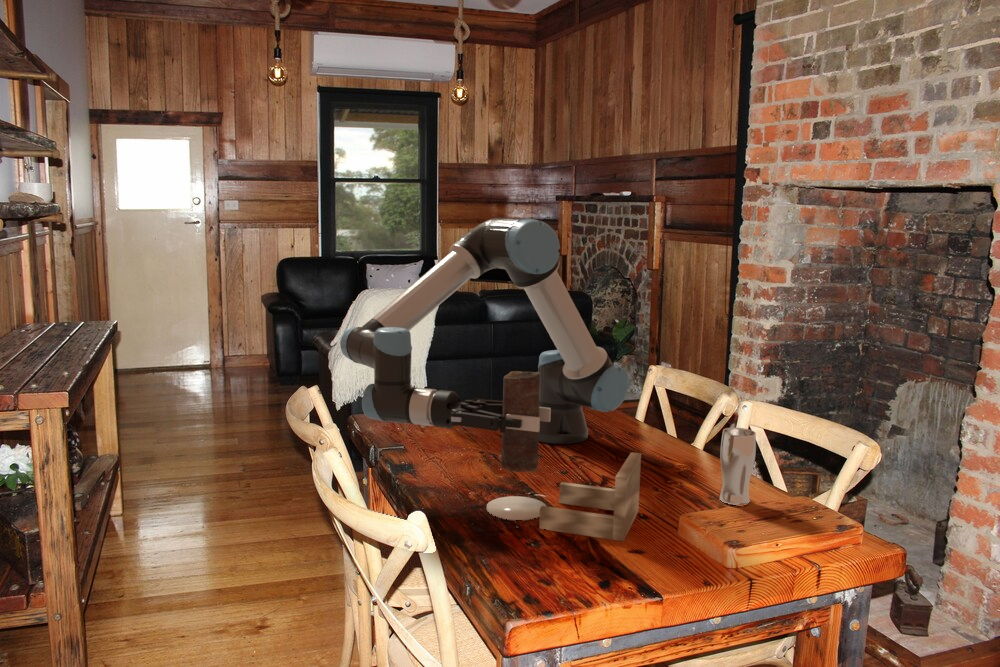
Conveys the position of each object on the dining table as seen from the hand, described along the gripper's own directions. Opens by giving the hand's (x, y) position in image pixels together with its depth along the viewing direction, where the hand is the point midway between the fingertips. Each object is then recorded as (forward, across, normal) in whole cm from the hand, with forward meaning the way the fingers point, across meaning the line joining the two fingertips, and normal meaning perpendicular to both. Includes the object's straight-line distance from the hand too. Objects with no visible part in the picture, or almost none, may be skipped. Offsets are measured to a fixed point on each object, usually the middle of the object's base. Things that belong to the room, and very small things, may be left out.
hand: (544, 419), depth 161 cm
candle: (-5, 0, -11) cm, 12 cm away
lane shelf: (+9, 0, -19) cm, 21 cm away
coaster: (-5, 0, -19) cm, 20 cm away
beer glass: (+36, -21, -19) cm, 46 cm away
